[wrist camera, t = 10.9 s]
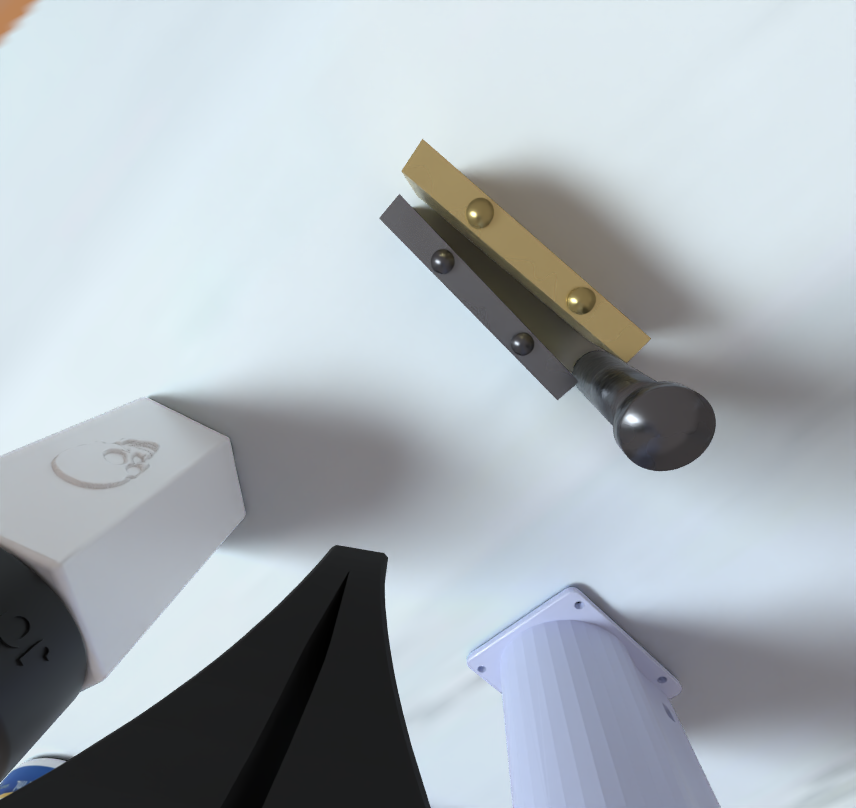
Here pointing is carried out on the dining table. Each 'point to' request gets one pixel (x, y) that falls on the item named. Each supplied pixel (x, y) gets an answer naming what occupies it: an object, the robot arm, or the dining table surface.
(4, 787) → the beverage bottle
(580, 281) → the brass leaf
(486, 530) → the dining table surface
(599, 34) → the dining table surface
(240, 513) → the jar
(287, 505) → the dining table surface
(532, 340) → the hinge base
